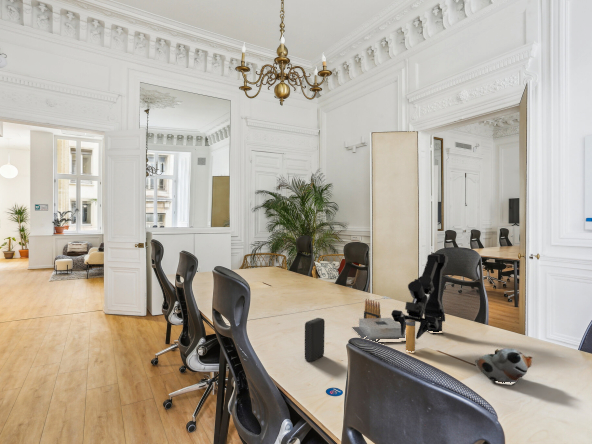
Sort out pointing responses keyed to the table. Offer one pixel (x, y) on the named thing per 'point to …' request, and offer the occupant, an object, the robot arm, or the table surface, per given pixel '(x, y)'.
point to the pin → (410, 335)
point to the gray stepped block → (379, 329)
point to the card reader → (314, 339)
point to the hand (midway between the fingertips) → (409, 336)
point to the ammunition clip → (372, 309)
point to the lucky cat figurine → (504, 365)
